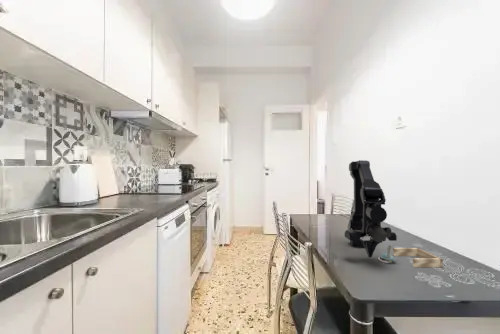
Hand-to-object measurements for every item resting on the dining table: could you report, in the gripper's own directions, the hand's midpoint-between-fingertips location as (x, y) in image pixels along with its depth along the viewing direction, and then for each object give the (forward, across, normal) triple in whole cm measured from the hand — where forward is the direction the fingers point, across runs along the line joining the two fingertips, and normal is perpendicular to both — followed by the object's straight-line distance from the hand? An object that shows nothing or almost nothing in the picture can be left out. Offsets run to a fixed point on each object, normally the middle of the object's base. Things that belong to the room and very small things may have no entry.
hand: (369, 257), depth 111 cm
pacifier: (+2, +7, 0) cm, 7 cm away
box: (+2, +19, 0) cm, 19 cm away
